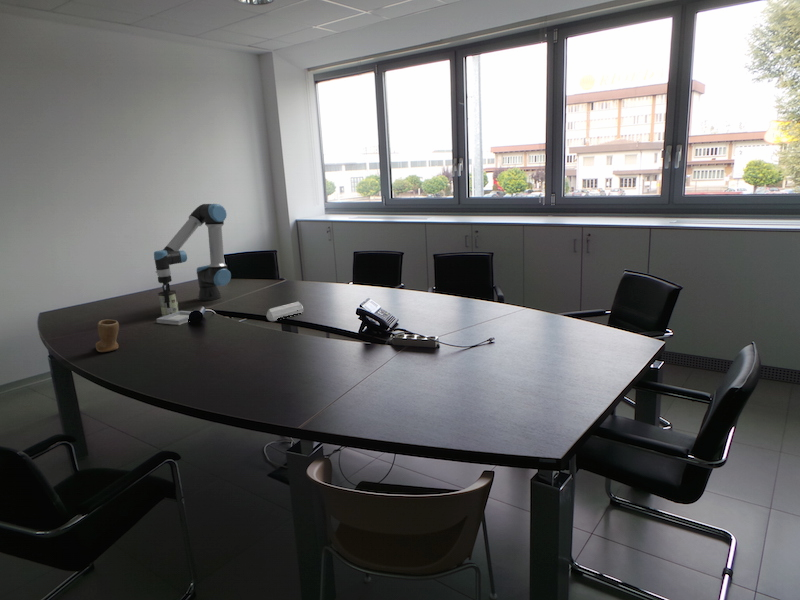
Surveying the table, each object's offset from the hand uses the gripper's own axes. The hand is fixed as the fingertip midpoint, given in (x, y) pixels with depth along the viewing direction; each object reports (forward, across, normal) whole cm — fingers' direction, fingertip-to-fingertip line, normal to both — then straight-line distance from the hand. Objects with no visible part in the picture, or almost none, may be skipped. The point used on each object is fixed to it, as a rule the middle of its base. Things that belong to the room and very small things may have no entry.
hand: (170, 310), depth 328 cm
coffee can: (+3, 0, 0) cm, 3 cm away
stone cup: (+3, +59, -25) cm, 64 cm away
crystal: (+3, +46, +65) cm, 80 cm away
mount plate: (+2, +18, +6) cm, 19 cm away
